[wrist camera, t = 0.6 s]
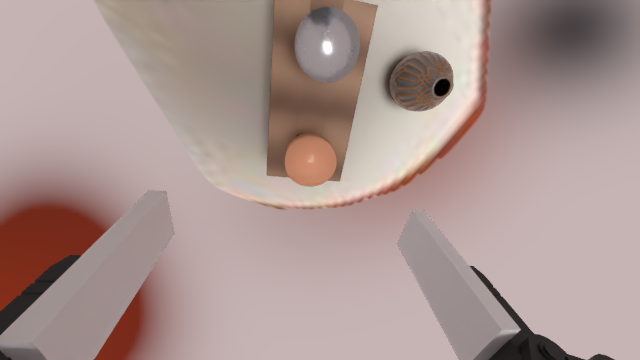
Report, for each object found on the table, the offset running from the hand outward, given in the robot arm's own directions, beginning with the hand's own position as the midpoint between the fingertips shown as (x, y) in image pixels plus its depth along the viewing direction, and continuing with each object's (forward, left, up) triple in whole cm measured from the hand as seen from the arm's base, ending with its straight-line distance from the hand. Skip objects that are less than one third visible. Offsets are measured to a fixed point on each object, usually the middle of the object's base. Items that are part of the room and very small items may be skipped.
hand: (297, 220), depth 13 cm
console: (-4, +2, -23) cm, 24 cm away
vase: (-7, +15, -24) cm, 29 cm away
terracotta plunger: (+2, +2, -19) cm, 19 cm away
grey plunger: (-9, +2, -19) cm, 21 cm away
